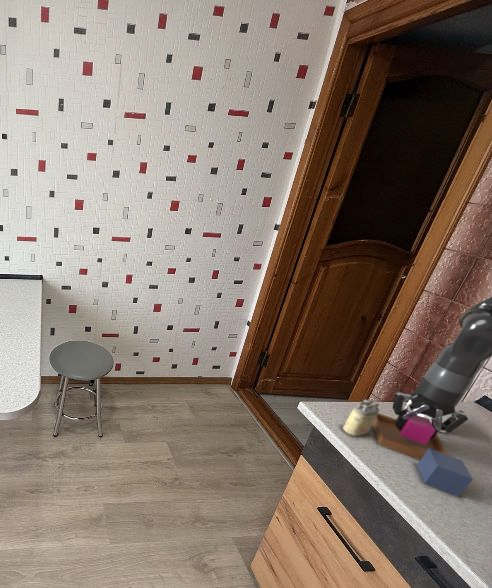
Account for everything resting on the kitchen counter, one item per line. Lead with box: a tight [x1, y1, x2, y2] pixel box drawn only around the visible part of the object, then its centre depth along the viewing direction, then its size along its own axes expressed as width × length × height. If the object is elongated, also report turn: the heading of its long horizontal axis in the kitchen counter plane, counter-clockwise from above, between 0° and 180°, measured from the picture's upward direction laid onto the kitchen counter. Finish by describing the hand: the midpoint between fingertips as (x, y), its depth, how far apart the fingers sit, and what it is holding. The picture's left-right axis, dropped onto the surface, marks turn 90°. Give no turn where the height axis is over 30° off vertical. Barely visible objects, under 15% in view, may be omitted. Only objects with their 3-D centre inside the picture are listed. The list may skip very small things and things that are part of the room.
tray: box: [372, 412, 449, 461], centre depth 90 cm, size 14×12×2 cm
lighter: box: [342, 399, 380, 437], centre depth 91 cm, size 7×4×10 cm, turn 105°
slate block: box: [416, 448, 474, 497], centre depth 79 cm, size 6×6×6 cm
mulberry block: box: [399, 415, 435, 445], centre depth 89 cm, size 5×5×5 cm
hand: (411, 432), depth 89 cm, fingers closed on mulberry block, 5 cm apart
